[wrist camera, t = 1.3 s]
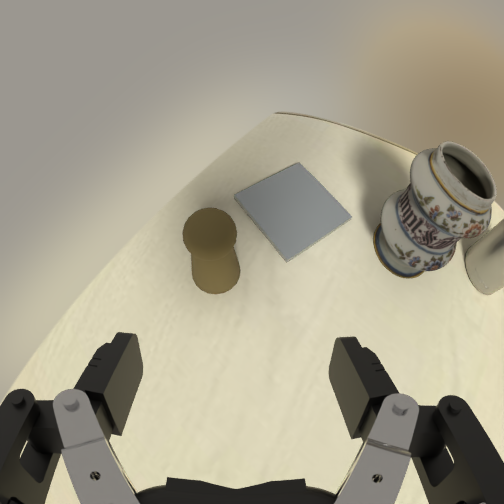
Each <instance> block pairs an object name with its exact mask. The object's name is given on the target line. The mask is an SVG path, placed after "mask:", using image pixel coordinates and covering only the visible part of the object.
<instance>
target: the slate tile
mask: <svg viewBox="0 0 504 504" xmlns="http://www.w3.org/2000/svg"><path fill="white" fill-rule="evenodd" d="M234 198H235V200H236V201H237V202H238V203H239V205H240V206H241V207H242V208H243V209H244V211H245V212H246V213H247V214H248V216H249V217H250V218H251V219H252V220H253V222H254V223H255V224H256V225H257V227H258V228H259V229H260V230H261V231H262V233H263V234H264V235H265V236H266V238H267V239H268V240H269V241H270V243H271V244H272V245H273V246H274V248H275V249H276V250H277V251H278V253H279V254H280V255H281V256H282V258H283V259H284V260H285V261H286V263H287V262H288V261H290V260H291V259H293V258H294V257H296V256H297V255H299V254H300V253H302V252H303V251H305V250H306V249H308V248H309V247H311V246H312V245H314V244H315V243H317V242H318V241H320V240H321V239H323V238H324V237H326V236H327V235H329V234H330V233H332V232H333V231H335V230H336V229H338V228H339V227H341V226H342V225H344V224H345V223H346V222H348V221H349V220H351V218H352V216H351V215H350V214H349V213H348V212H347V211H346V210H345V209H344V208H343V206H342V205H341V204H340V203H339V202H338V201H337V200H336V199H335V198H334V197H333V196H332V195H331V194H330V193H329V192H328V191H327V190H326V189H325V188H324V187H323V186H322V185H321V184H320V183H319V182H318V180H317V179H316V178H315V177H314V176H313V175H312V174H311V173H309V172H308V171H307V170H306V169H305V168H304V167H303V166H302V165H301V164H300V163H297V164H295V165H293V166H291V167H289V168H287V169H285V170H282V171H280V172H278V173H276V174H274V175H272V176H270V177H268V178H266V179H264V180H262V181H260V182H258V183H256V184H254V185H252V186H250V187H248V188H247V189H245V190H243V191H241V192H239V193H237V194H235V195H234Z"/></svg>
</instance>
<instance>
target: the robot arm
mask: <svg viewBox="0 0 504 504" xmlns="http://www.w3.org/2000/svg"><path fill="white" fill-rule="evenodd" d="M465 263H466V269H467V273H468V276H469V278H470V280H471V282H472V283H473V285H474V286H475V287H476V289H477V290H479V291H480V292H481V293H483V294H486V295H490V294H492V293H494V292H496V291H498V290H500V289H501V288H503V287H504V219H503V220H502V221H500V222H499V223H498V224H497V225H496V226H495V227H494V228H493V229H491V230H490V231H489V232H488V233H487V234H486V235H484V236H483V237H482V238H481V239H480V240H478V241H477V242H476V243H475V244H474V245H472V246H471V247H470V248H469V249H468V251H467V253H466V258H465ZM142 375H143V362H142V357H141V353H140V348H139V343H138V338H137V335H136V334H132V333H122V332H118V333H117V334H116V335H115V337H114V339H113V340H112V342H111V343H105V344H104V345H102V346H101V347H100V348H98V349H97V351H96V352H95V354H94V355H93V357H92V359H91V360H90V362H89V363H88V366H87V367H86V368H85V370H84V372H83V373H82V375H81V377H80V378H79V380H78V382H77V384H76V385H75V387H74V389H68V390H65V391H62V392H61V393H59V394H58V395H57V396H56V397H55V399H54V400H36V399H35V398H34V396H33V394H32V393H31V392H30V391H28V390H26V389H17V390H14V391H12V392H11V393H9V394H8V395H7V396H6V398H5V399H4V401H3V402H2V404H1V406H0V504H45V500H46V497H47V494H48V491H49V487H50V484H51V481H52V478H53V475H54V472H55V469H56V466H57V463H58V461H59V458H60V455H61V454H62V456H63V459H64V462H65V465H66V468H67V471H68V473H69V476H70V479H71V481H72V484H73V487H74V489H75V492H76V494H77V496H78V499H79V501H80V503H81V504H394V503H395V501H396V498H397V495H398V493H399V490H400V488H401V485H402V482H403V479H404V477H405V474H406V471H407V468H408V465H409V461H410V458H412V460H413V463H414V465H415V468H416V470H417V473H418V475H419V478H420V481H421V483H422V486H423V488H424V491H425V494H426V497H427V499H428V502H429V504H504V463H503V461H502V459H501V457H500V455H499V454H498V452H497V450H496V449H495V447H494V445H493V443H492V442H491V440H490V438H489V437H488V435H487V434H486V432H485V430H484V429H483V427H482V426H481V424H480V422H479V421H478V419H477V418H476V416H475V415H474V413H473V411H472V410H471V408H470V407H469V405H468V404H467V403H466V401H464V400H463V399H462V398H460V397H458V396H453V395H449V396H445V397H443V398H442V399H441V400H440V401H439V403H438V405H437V406H420V405H418V404H417V402H416V401H415V400H414V399H413V398H412V397H410V396H408V395H405V394H400V393H399V392H398V390H397V388H396V387H395V385H394V383H393V382H392V380H391V378H390V377H389V375H388V373H387V372H386V371H385V369H384V367H383V365H382V364H381V362H380V360H379V359H378V357H377V356H376V354H375V353H373V352H372V351H371V350H370V349H368V348H367V347H364V348H362V347H361V345H360V343H359V342H358V340H357V338H356V337H339V338H336V340H335V344H334V348H333V353H332V357H331V361H330V365H329V379H330V382H331V385H332V387H333V390H334V393H335V395H336V398H337V401H338V404H339V406H340V409H341V412H342V415H343V417H344V420H345V423H346V426H347V428H348V431H349V434H350V437H351V439H355V438H360V437H361V438H362V440H363V443H362V445H361V447H360V449H359V451H358V453H357V455H356V457H355V459H354V461H353V463H352V465H351V467H350V469H349V471H348V473H347V474H346V476H345V478H344V480H343V481H342V483H341V485H340V486H339V488H338V490H337V491H336V493H335V494H334V493H331V492H329V491H326V490H323V489H319V488H315V487H308V486H306V483H305V478H304V479H295V480H283V481H270V482H266V483H263V484H258V485H254V486H250V487H245V488H240V489H232V488H227V487H223V486H219V485H215V484H211V483H207V482H204V481H199V480H187V479H178V478H169V477H167V482H166V485H161V486H156V487H151V488H148V489H145V490H142V491H140V492H137V491H136V489H135V487H134V486H133V484H132V483H131V481H130V479H129V478H128V476H127V474H126V472H125V471H124V469H123V467H122V465H121V463H120V461H119V460H118V458H117V456H116V454H115V452H114V450H113V448H112V446H111V444H110V442H109V439H110V437H111V434H114V435H119V436H121V435H122V432H123V429H124V426H125V424H126V421H127V418H128V415H129V412H130V409H131V406H132V403H133V401H134V398H135V395H136V392H137V390H138V387H139V384H140V381H141V379H142ZM26 440H27V441H28V442H27V444H26V446H25V449H24V451H23V453H22V455H21V458H20V454H21V451H22V449H23V447H24V445H25V443H26ZM446 446H447V447H448V449H449V451H450V453H451V455H452V457H453V459H454V463H453V461H452V459H451V457H450V455H449V453H448V451H447V449H446Z"/></svg>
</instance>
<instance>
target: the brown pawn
mask: <svg viewBox="0 0 504 504" xmlns="http://www.w3.org/2000/svg"><path fill="white" fill-rule="evenodd" d="M236 236H237V230H236V226H235V223H234V221H233V220H232V218H231V217H230V216H229V215H228V214H227V213H226V212H224V211H222V210H219V209H217V208H204V209H201V210H198V211H196V212H195V213H194V214H192V215H191V216H190V217H189V218H188V220H187V221H186V223H185V225H184V229H183V241H184V244H185V246H186V248H187V250H188V251H189V252H190V253H191V261H192V276H193V280H194V282H195V284H196V285H197V286H198V287H199V288H200V289H201V290H203V291H205V292H207V293H211V294H220V293H225V292H226V291H228V290H230V289H232V288H233V287H234V286H235V285H236V283H237V281H238V279H239V276H240V267H239V263H238V259H237V256H236V253H235V250H234V247H233V246H234V244H235V242H236Z"/></svg>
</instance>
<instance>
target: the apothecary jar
mask: <svg viewBox="0 0 504 504" xmlns="http://www.w3.org/2000/svg"><path fill="white" fill-rule="evenodd" d="M410 182H411V183H410V184H409V186H408V187H407V189H406V190H400V191H398V192H395V193H394V194H392V195H391V196H390V197H389V198H388V199H387V200H386V202H385V203H384V205H383V208H382V212H381V223H380V224H379V226H378V227H377V229H376V231H375V233H374V248H375V251H376V254H377V256H378V258H379V260H380V261H381V263H382V264H383V265H384V267H385V268H386V269H388V270H389V271H390V272H392V273H393V274H395V275H397V276H399V277H402V278H415V277H418V276H419V275H421V274H422V273H423V272H424V271H434V270H437V269H440V268H442V267H444V266H445V265H446V264H447V263H448V262H449V261H450V260H451V259H452V257H453V255H454V252H455V249H456V243H457V241H459V240H460V239H461V238H472V237H476V236H478V235H480V234H481V233H483V232H484V231H485V230H486V228H487V227H488V225H489V223H490V219H491V212H492V207H491V204H492V203H493V201H494V200H495V198H496V193H497V192H496V185H495V182H494V179H493V177H492V175H491V173H490V171H489V170H488V168H487V167H486V166H485V164H484V163H483V162H482V161H481V160H480V159H479V158H478V157H477V156H476V155H475V154H474V153H472V152H471V151H470V150H469V149H467V148H465V147H464V146H462V145H460V144H457V143H455V142H450V141H447V142H443V143H442V144H440V145H439V147H438V148H437V149H427V150H424V151H422V152H420V153H419V154H418V155H416V157H415V158H414V159H413V162H412V164H411V169H410Z"/></svg>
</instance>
